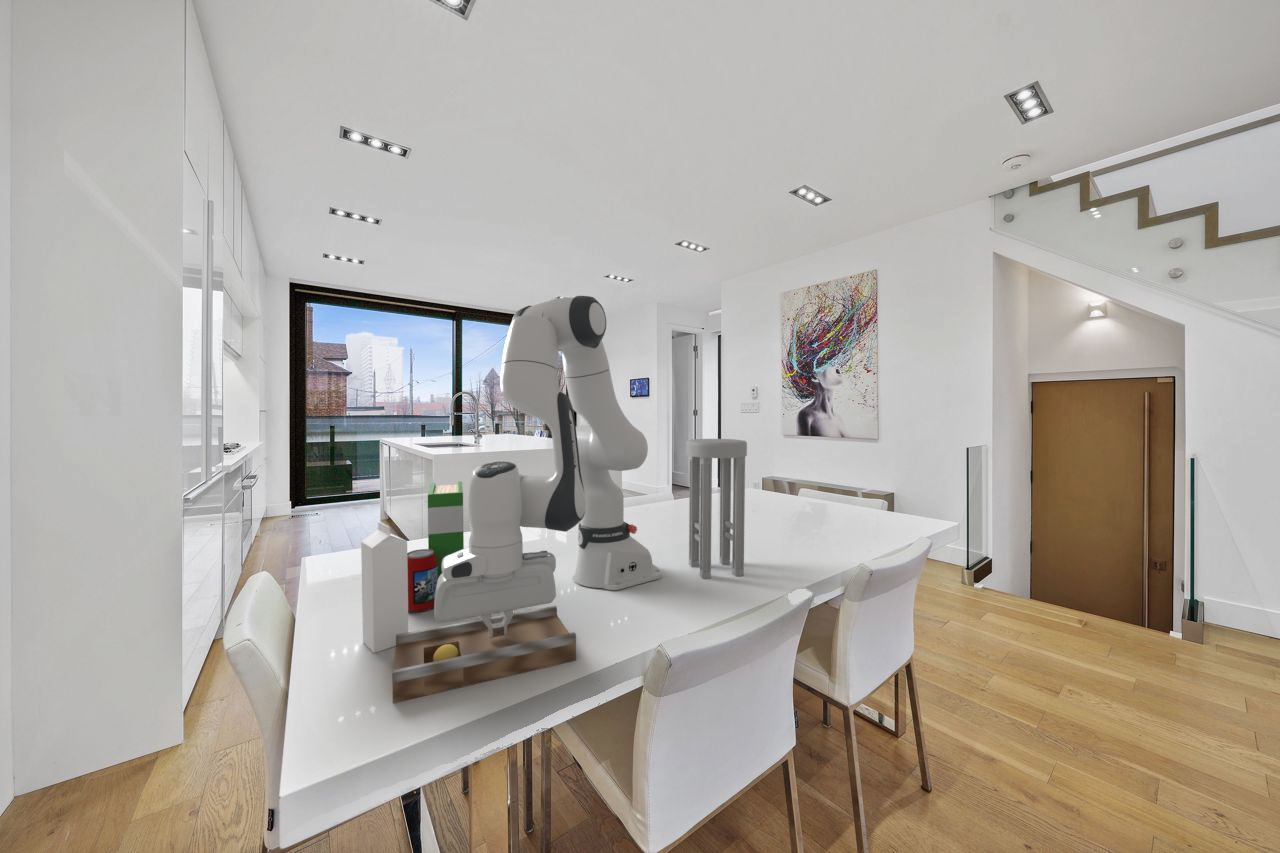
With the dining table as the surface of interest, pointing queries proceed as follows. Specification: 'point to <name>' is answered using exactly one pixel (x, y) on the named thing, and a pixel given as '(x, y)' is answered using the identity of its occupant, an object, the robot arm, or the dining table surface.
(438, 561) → the hardback book
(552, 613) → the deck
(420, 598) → the beverage can
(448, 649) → the ball
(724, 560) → the stool
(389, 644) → the milk
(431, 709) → the dining table surface
